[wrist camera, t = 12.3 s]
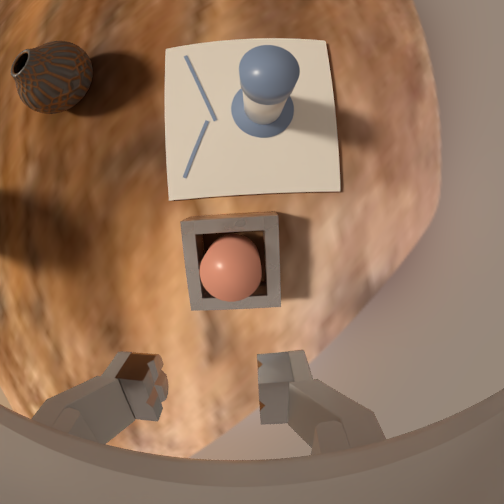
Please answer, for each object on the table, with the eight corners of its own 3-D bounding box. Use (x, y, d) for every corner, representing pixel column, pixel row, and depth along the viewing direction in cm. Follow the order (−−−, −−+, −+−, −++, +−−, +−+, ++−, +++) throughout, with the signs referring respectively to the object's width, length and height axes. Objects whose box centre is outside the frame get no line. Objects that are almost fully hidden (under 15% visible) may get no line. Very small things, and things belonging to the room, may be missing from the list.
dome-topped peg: (241, 90, 20) (237, 45, 12) (281, 89, 20) (296, 45, 12) (243, 126, 20) (240, 96, 13) (284, 125, 20) (302, 94, 12)
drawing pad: (167, 50, 19) (165, 48, 18) (324, 42, 19) (325, 40, 18) (170, 200, 22) (168, 200, 22) (338, 191, 22) (340, 191, 22)
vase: (103, 46, 18) (57, 10, 10) (103, 103, 20) (47, 78, 11) (51, 73, 18) (0, 51, 10) (50, 128, 20) (-9, 118, 12)
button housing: (189, 216, 23) (180, 221, 20) (274, 211, 22) (278, 215, 20) (197, 295, 24) (191, 310, 21) (277, 292, 24) (280, 306, 21)
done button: (204, 235, 22) (196, 244, 18) (258, 231, 22) (259, 240, 18) (209, 285, 23) (203, 302, 19) (261, 283, 23) (262, 300, 19)
